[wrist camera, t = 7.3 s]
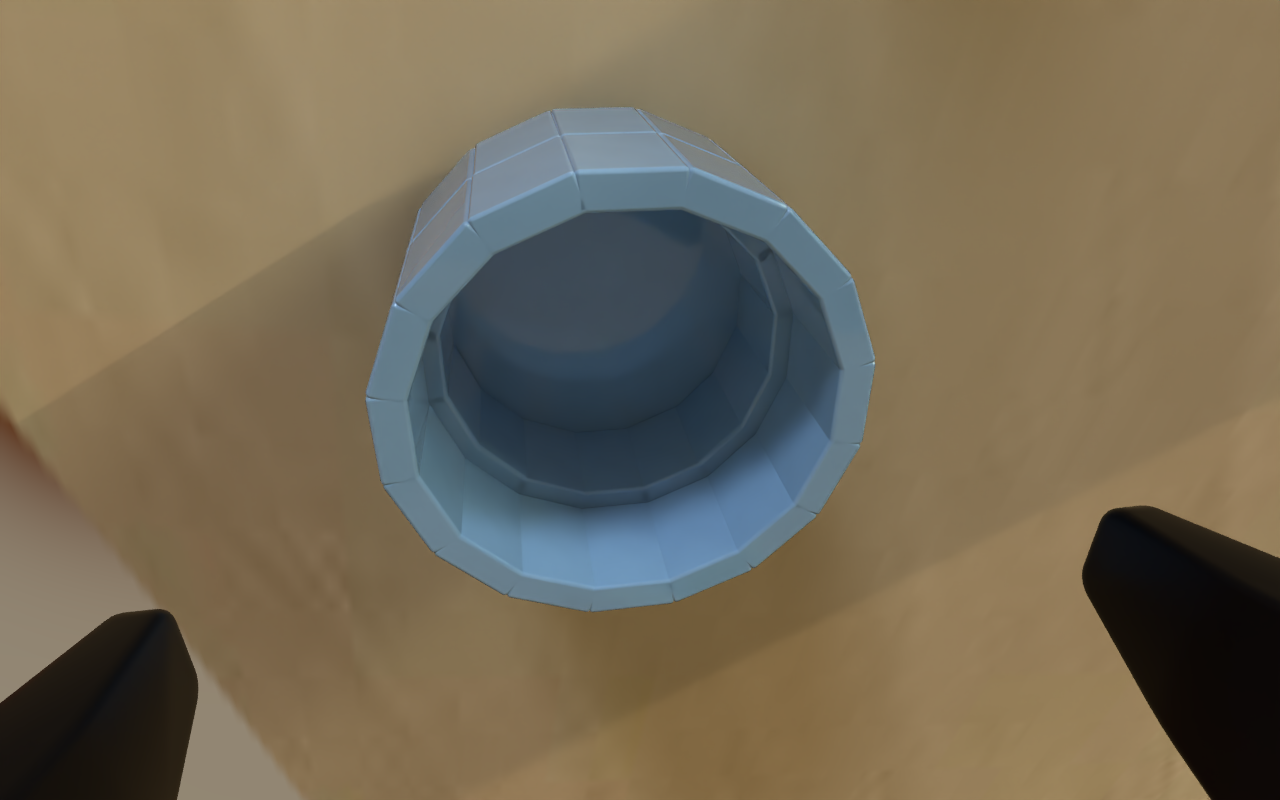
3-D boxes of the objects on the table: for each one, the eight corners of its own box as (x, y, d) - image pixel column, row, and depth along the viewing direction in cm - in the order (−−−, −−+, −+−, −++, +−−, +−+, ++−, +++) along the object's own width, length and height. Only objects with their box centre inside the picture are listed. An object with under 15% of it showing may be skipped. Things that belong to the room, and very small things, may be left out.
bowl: (429, 463, 15) (408, 635, 12) (375, 106, 12) (321, 178, 8) (756, 435, 16) (838, 585, 12) (788, 97, 13) (913, 159, 9)
